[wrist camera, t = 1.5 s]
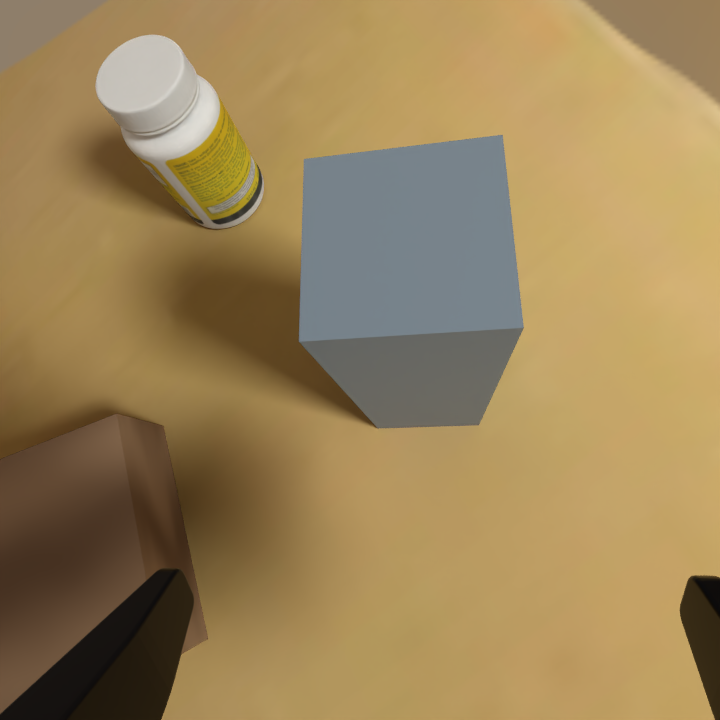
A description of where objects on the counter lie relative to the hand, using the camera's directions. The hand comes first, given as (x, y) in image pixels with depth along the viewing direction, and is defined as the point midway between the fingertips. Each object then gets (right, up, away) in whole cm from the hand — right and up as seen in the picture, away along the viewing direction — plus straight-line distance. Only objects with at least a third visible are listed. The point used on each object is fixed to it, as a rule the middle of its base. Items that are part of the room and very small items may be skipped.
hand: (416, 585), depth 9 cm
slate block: (+2, +3, +14) cm, 15 cm away
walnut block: (-13, -5, +15) cm, 20 cm away
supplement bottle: (-9, +13, +19) cm, 25 cm away
